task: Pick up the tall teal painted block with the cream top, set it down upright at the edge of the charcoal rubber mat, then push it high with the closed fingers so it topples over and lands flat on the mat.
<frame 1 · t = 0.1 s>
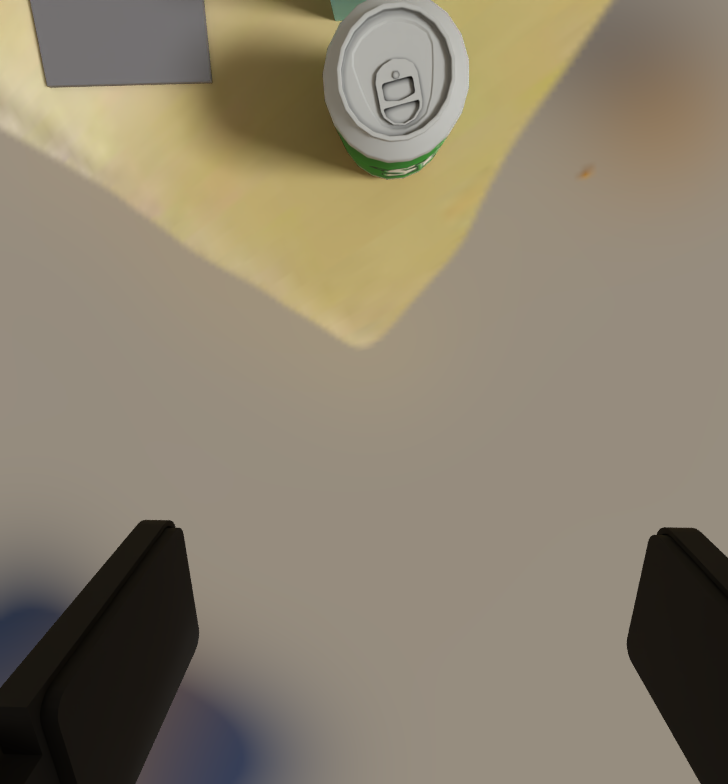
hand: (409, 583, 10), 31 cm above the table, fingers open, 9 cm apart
soda can: (392, 125, 35), on the table
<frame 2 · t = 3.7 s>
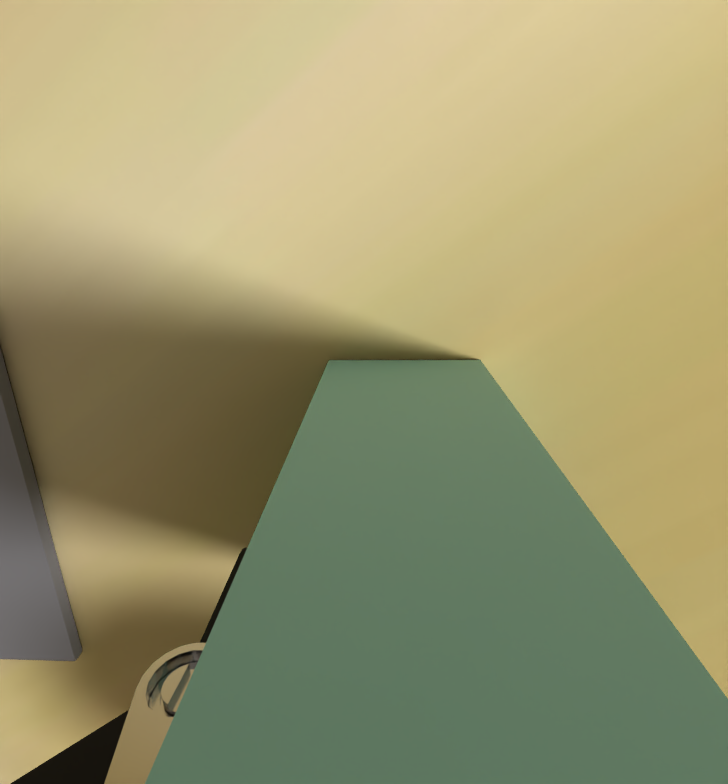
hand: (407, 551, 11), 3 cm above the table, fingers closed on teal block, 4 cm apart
teal block: (402, 477, 14), on the table, touching gripper
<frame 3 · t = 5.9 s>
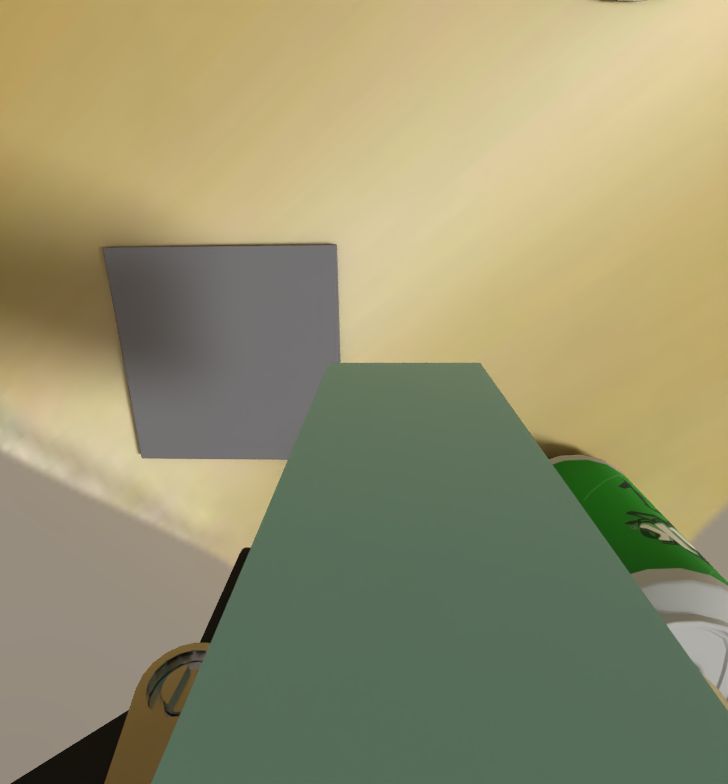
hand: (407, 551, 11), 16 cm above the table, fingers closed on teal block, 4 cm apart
rubber mat: (232, 358, 26), on the table
soda can: (559, 500, 29), on the table
teal block: (402, 479, 14), point 13 cm above the table, touching gripper
when the fingers open (4 cm above the table, at t = 8.3 s): teal block stays where it is, on the table.
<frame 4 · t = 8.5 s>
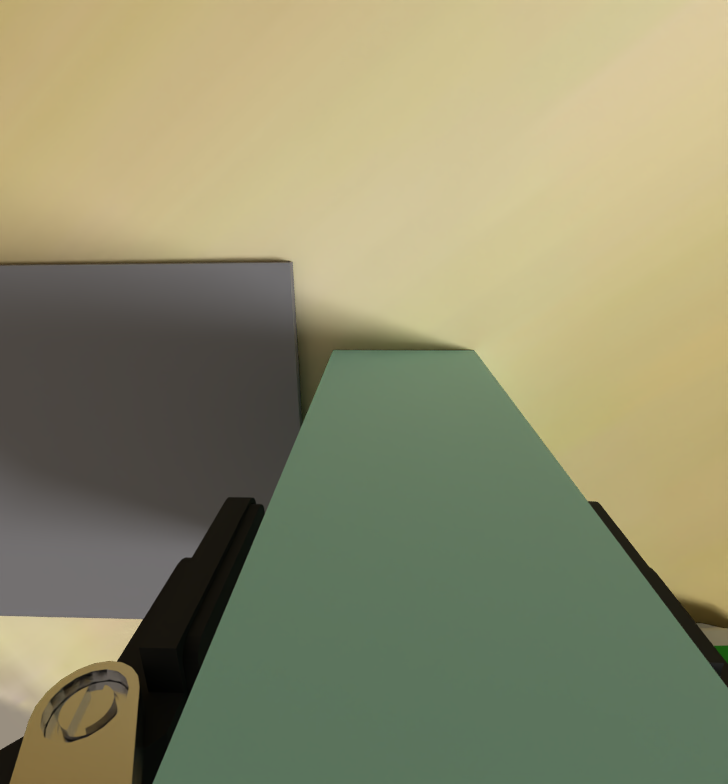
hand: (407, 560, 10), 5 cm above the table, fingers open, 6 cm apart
rubber mat: (116, 459, 15), on the table
soda can: (672, 681, 17), on the table
teal block: (401, 460, 15), on the table
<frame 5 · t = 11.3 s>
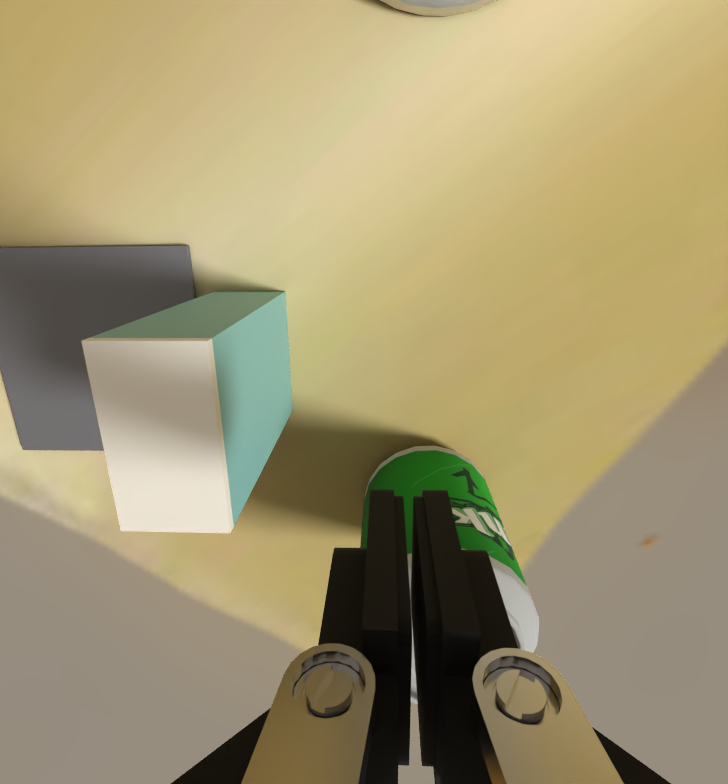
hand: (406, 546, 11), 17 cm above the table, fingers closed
rubber mat: (101, 354, 27), on the table
soda can: (424, 490, 30), on the table
teal block: (254, 353, 27), on the table
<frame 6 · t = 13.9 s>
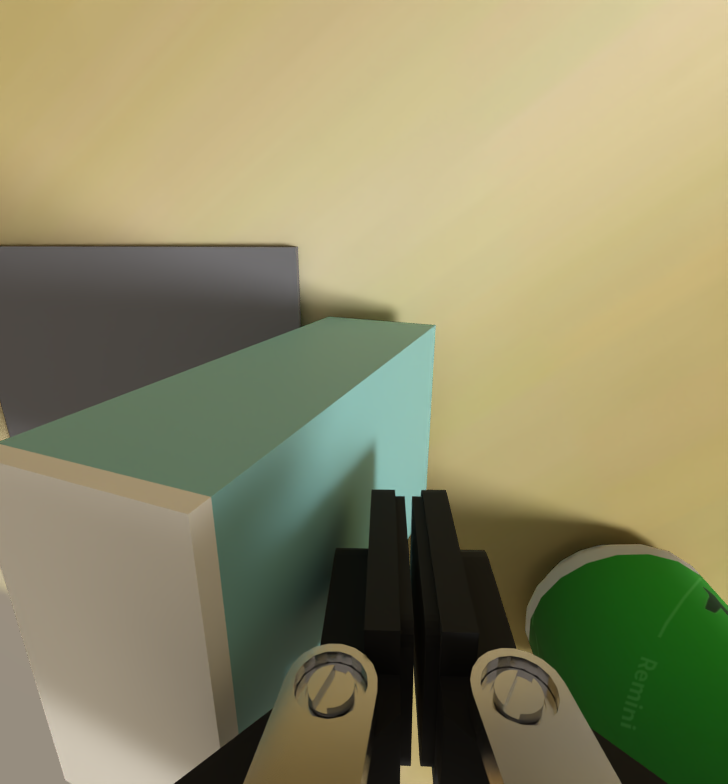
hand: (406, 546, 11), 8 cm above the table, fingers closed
rubber mat: (154, 404, 19), on the table
soda can: (602, 595, 21), on the table
teal block: (378, 412, 18), point 1 cm above the table, tilted 19°
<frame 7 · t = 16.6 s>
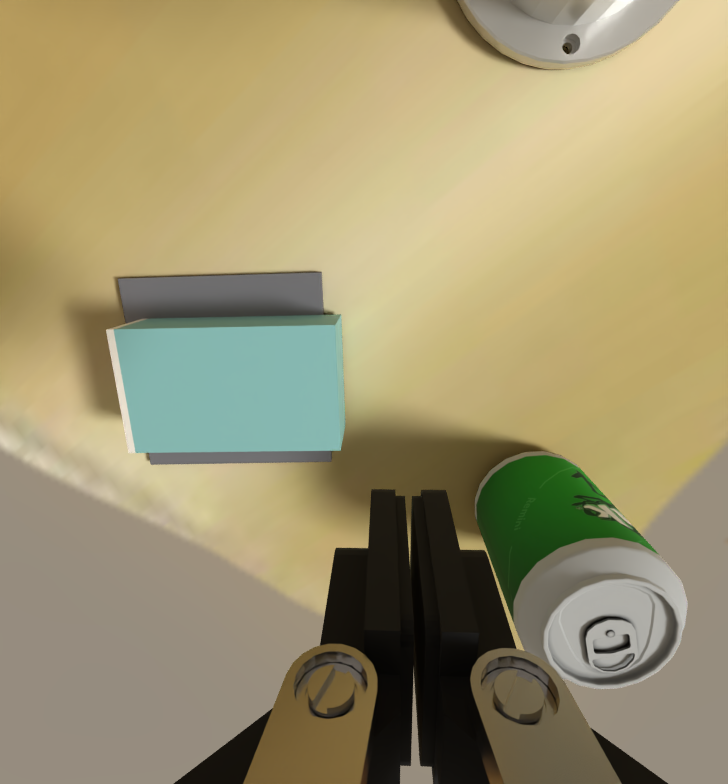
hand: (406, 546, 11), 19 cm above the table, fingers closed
rubber mat: (231, 373, 30), on the table
soda can: (526, 494, 32), on the table
teal block: (340, 380, 27), point 2 cm above the table, tilted 90°, touching rubber mat
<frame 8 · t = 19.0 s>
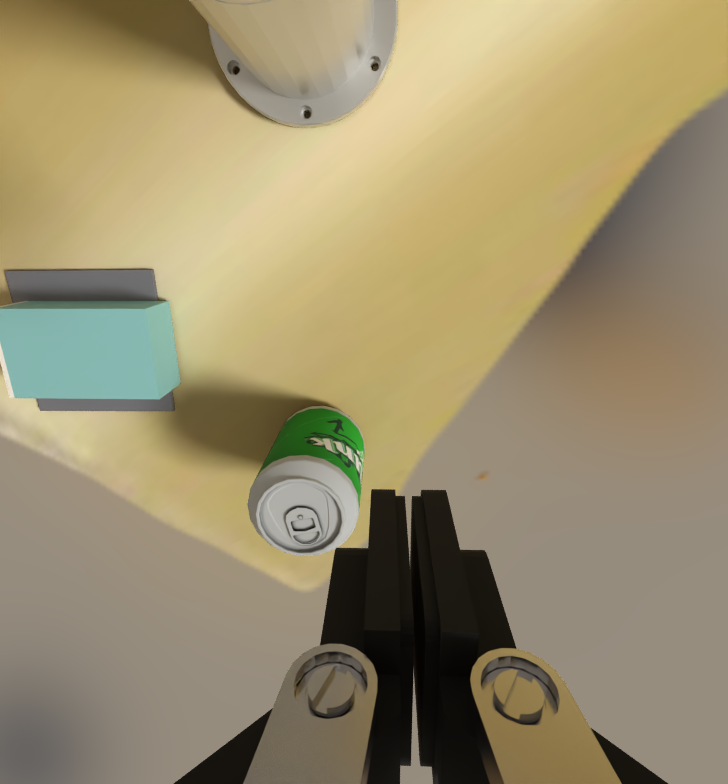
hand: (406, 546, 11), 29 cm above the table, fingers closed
rubber mat: (95, 343, 40), on the table
soda can: (323, 439, 42), on the table
teal block: (164, 349, 37), point 2 cm above the table, tilted 90°, touching rubber mat
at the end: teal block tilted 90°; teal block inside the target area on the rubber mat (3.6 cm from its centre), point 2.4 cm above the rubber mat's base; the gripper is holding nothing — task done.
